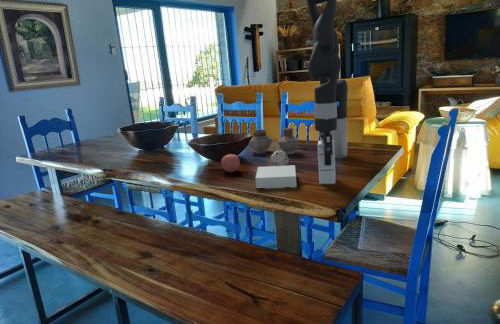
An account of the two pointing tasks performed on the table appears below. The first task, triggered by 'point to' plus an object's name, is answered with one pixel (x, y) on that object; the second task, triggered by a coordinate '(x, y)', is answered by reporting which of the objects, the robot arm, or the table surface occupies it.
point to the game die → (279, 158)
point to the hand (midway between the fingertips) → (326, 161)
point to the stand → (276, 177)
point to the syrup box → (326, 171)
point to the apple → (230, 162)
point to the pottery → (263, 142)
